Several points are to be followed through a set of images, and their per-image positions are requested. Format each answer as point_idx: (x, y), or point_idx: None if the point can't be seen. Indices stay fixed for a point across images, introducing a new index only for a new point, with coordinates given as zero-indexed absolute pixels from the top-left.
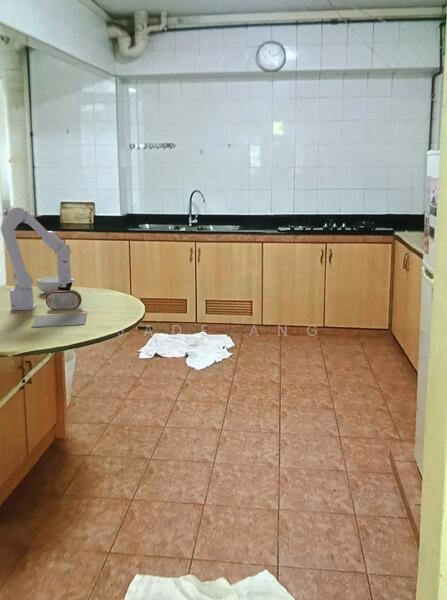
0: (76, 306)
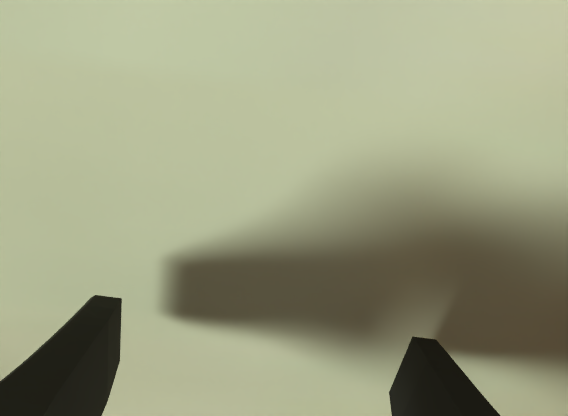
0: None
